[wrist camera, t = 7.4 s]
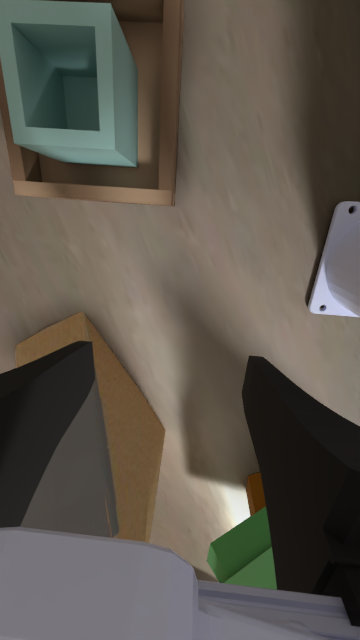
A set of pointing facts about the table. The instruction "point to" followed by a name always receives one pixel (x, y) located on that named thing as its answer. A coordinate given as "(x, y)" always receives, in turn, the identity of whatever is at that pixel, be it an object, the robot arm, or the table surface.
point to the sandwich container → (98, 448)
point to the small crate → (70, 81)
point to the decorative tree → (246, 546)
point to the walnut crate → (153, 119)
